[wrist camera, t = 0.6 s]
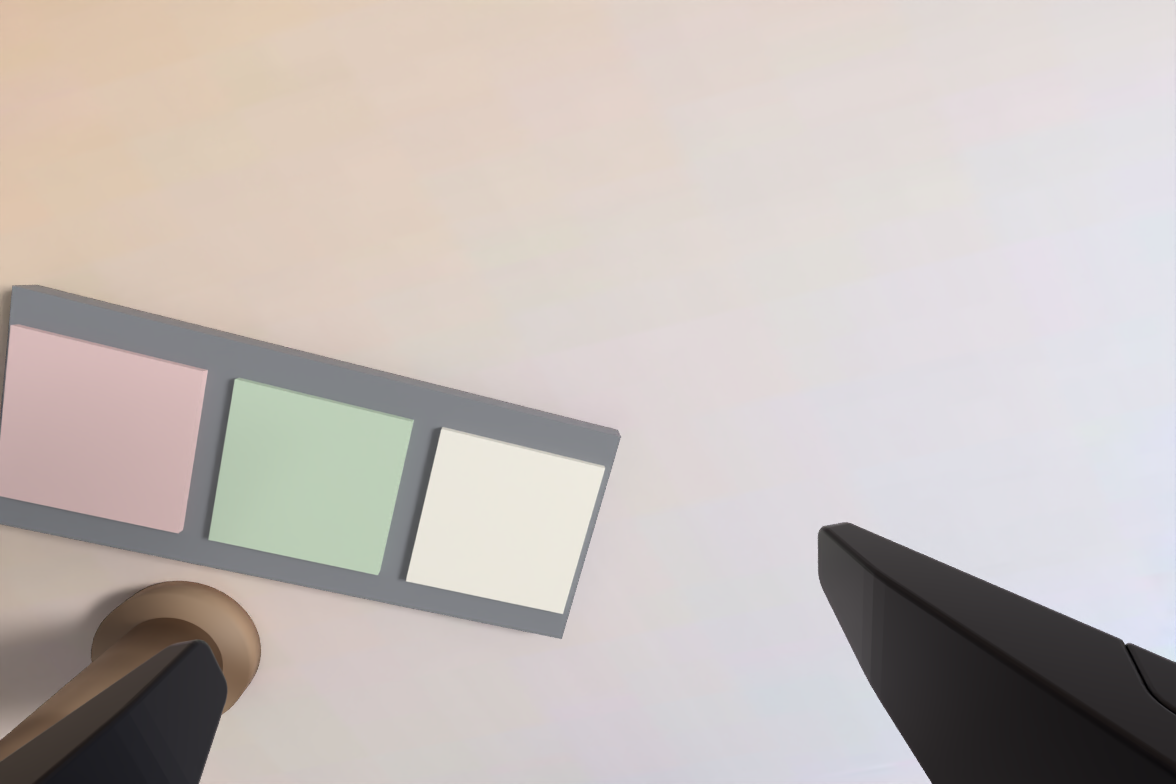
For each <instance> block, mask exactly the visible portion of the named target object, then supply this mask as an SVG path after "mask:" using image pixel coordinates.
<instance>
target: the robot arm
mask: <svg viewBox="0 0 1176 784" xmlns="http://www.w3.org/2000/svg"><path fill="white" fill-rule="evenodd" d="M818 575H819V580H820V583H821V586H822V589H823V591H824V593H825V595H826V597H827V599H828V601H829V603H830V605H831V607H832V609H833V611H834V613H835V615H836V617H837V619H838V621H839V623H840V625H841V627H842V629H843V631H844V633H845V635H846V637H847V639H848V642H849V644H850V646H851V648H852V650H853V652H854V654H855V656H856V658H857V660H858V662H859V664H860V666H861V668H862V670H863V672H864V674H865V675H866V677H867V679H868V681H869V683H870V685H871V687H872V688H873V690H874V692H875V693H876V695H877V697H878V698H879V700H880V702H881V703H882V705H883V706H884V708H885V710H886V711H887V713H888V714H889V716H890V717H891V719H892V721H893V722H894V724H895V725H896V727H897V729H898V730H899V732H900V733H901V735H902V736H903V738H904V740H905V741H906V743H907V744H908V746H909V748H910V749H911V751H912V752H913V754H914V756H915V757H916V759H917V760H918V762H919V763H920V765H921V767H922V768H923V770H924V771H925V773H926V775H927V776H928V778H929V779H930V781H931V782H932V784H1176V662H1174V661H1171V660H1169V659H1166V658H1164V657H1162V656H1159V655H1157V654H1155V653H1153V652H1150V651H1148V650H1146V649H1143V648H1141V647H1139V646H1136V645H1134V644H1131V643H1127V644H1126V645H1125V644H1124V642H1123V641H1122V640H1121V639H1119V638H1117V637H1115V636H1112V635H1110V634H1108V633H1105V632H1103V631H1101V630H1098V629H1096V628H1094V627H1091V626H1089V625H1087V624H1084V623H1082V622H1080V621H1077V620H1075V619H1073V618H1070V617H1068V616H1066V615H1063V614H1061V613H1059V612H1056V611H1054V610H1052V609H1049V608H1047V607H1045V606H1042V605H1040V604H1038V603H1035V602H1033V601H1031V600H1028V599H1026V598H1024V597H1021V596H1019V595H1017V594H1014V593H1012V592H1010V591H1007V590H1005V589H1003V588H1000V587H998V586H996V585H993V584H991V583H989V582H986V581H984V580H982V579H979V578H977V577H975V576H972V575H970V574H968V573H965V572H963V571H961V570H958V569H956V568H954V567H951V566H949V565H947V564H944V563H942V562H940V561H937V560H935V559H933V558H930V557H928V556H926V555H923V554H921V553H919V552H916V551H914V550H912V549H909V548H907V547H905V546H902V545H900V544H898V543H895V542H893V541H891V540H888V539H886V538H884V537H881V536H879V535H877V534H874V533H872V532H870V531H867V530H865V529H863V528H860V527H858V526H856V525H853V524H851V523H847V522H844V523H838V524H832V525H827V526H823V527H822V528H821V529H820V530H819V533H818ZM227 693H228V688H227V681H226V679H225V677H224V675H223V673H222V670H221V668H220V666H219V664H218V662H217V660H216V658H215V656H214V654H213V652H212V650H211V648H210V646H209V645H208V643H206V642H205V641H204V640H199V639H196V640H191V641H185V642H180V643H175V644H172V645H169V646H168V647H166V648H164V649H163V650H162V651H160V652H159V653H157V654H156V655H154V656H153V657H151V658H150V659H148V660H147V661H146V662H144V663H143V664H141V665H140V666H138V667H137V668H135V669H134V670H132V671H131V672H130V673H128V674H127V675H125V676H124V677H122V678H121V679H119V680H118V681H116V682H115V683H114V684H112V685H111V686H109V687H108V688H106V689H105V690H103V691H102V692H100V693H99V694H98V695H96V696H95V697H93V698H92V699H90V700H89V701H87V702H86V703H84V704H83V705H82V706H80V707H79V708H77V709H76V710H74V711H73V712H71V713H70V714H68V715H67V716H66V717H64V718H63V719H61V720H60V721H58V722H57V723H55V724H54V725H52V726H51V727H50V728H48V729H47V730H45V731H44V732H42V733H41V734H39V735H38V736H36V737H35V738H34V739H32V740H31V741H29V742H28V743H26V744H25V745H23V746H22V747H20V748H19V749H18V750H16V751H15V752H13V753H12V754H10V755H9V756H7V757H6V758H4V759H3V760H2V761H0V784H199V782H200V779H201V776H202V773H203V770H204V767H205V763H206V760H207V757H208V754H209V751H210V748H211V745H212V742H213V739H214V736H215V733H216V730H217V727H218V724H219V721H220V718H221V715H222V712H223V709H224V706H225V703H226V699H227Z"/></svg>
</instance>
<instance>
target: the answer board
mask: <svg viewBox="0 0 1176 784" xmlns="http://www.w3.org/2000/svg"><path fill="white" fill-rule="evenodd" d="M620 438H621V436H620V434H619V432H618V430H616V429H612V428H608V427H604V426H600V425H596V424H592V423H588V422H584V421H580V420H576V419H572V418H568V417H564V416H560V415H556V414H552V413H548V412H544V411H540V410H536V409H532V408H528V407H524V406H520V405H516V404H512V403H508V402H504V401H500V400H496V399H492V398H488V397H484V396H480V395H476V394H472V393H468V392H464V391H460V390H456V389H452V388H448V387H444V386H440V385H436V384H432V383H428V382H424V381H420V380H416V379H412V378H408V377H404V376H400V375H396V374H392V373H388V372H384V371H380V370H376V369H372V368H368V367H364V366H360V365H356V364H352V363H348V362H344V361H340V360H336V359H332V358H328V357H324V356H320V355H316V354H312V353H308V352H304V351H300V350H296V349H292V348H288V347H284V346H280V345H276V344H272V343H268V342H264V341H260V340H256V339H252V338H248V337H244V336H240V335H236V334H232V333H227V332H223V331H219V330H215V329H211V328H207V327H203V326H199V325H195V324H191V323H187V322H183V321H179V320H175V319H171V318H167V317H163V316H159V315H155V314H151V313H147V312H143V311H139V310H135V309H131V308H127V307H123V306H119V305H115V304H111V303H107V302H103V301H99V300H95V299H91V298H87V297H83V296H79V295H75V294H71V293H67V292H63V291H59V290H55V289H51V288H47V287H43V286H39V285H15V286H12V297H11V308H10V319H9V330H8V340H7V351H6V362H5V373H4V384H3V395H2V406H1V417H0V524H2V525H7V526H12V527H17V528H21V529H26V530H31V531H36V532H41V533H46V534H51V535H56V536H61V537H65V538H70V539H75V540H80V541H85V542H90V543H95V544H100V545H105V546H110V547H114V548H119V549H124V550H129V551H134V552H139V553H144V554H149V555H154V556H158V557H163V558H168V559H173V560H178V561H183V562H188V563H193V564H198V565H202V566H207V567H212V568H217V569H222V570H227V571H232V572H237V573H242V574H247V575H251V576H256V577H261V578H266V579H271V580H276V581H281V582H286V583H291V584H295V585H300V586H305V587H310V588H315V589H320V590H325V591H330V592H335V593H339V594H344V595H349V596H354V597H359V598H364V599H369V600H374V601H379V602H384V603H388V604H393V605H398V606H403V607H408V608H413V609H418V610H423V611H428V612H432V613H437V614H442V615H447V616H452V617H457V618H462V619H467V620H472V621H476V622H481V623H486V624H491V625H496V626H501V627H506V628H511V629H516V630H521V631H525V632H530V633H535V634H540V635H545V636H550V637H555V638H560V639H562V636H563V633H564V629H565V626H566V622H567V619H568V616H569V612H570V609H571V605H572V602H573V598H574V595H575V592H576V588H577V585H578V581H579V578H580V574H581V571H582V568H583V564H584V561H585V557H586V554H587V551H588V547H589V544H590V540H591V537H592V533H593V530H594V527H595V523H596V520H597V516H598V513H599V510H600V506H601V503H602V499H603V496H604V492H605V489H606V486H607V482H608V479H609V475H610V472H611V469H612V465H613V462H614V458H615V455H616V451H617V448H618V445H619V441H620Z"/></svg>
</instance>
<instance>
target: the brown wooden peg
mask: <svg viewBox="0 0 1176 784" xmlns="http://www.w3.org/2000/svg"><path fill="white" fill-rule="evenodd" d="M196 639H199V640H204V641H205V642H206V643H208V645H209V646H210V648H211V650H212V652H213V654H214V656H215V658H216V660H217V662H218V664H219V666H220V668H221V670H222V673H223V675H224V677H225V679H226V681H227V688H228V693H227V699H226V703H225V706H224V709H223V712H222V714H223V713H225V712H226V711H227V710H228V709H230V708H231V707H232V706H233V705H234V704H235V702H236V701H237V700H238V699H239V697H240V696H241V695H242V693H243V692H244V691H245V689H246V688H247V686H248V685H249V684H250V682H251V681H252V679H253V678H254V676H255V674H256V672H257V669H258V666H259V662H260V656H261V645H260V639H259V635H258V632H257V629H256V627H255V625H254V623H253V621H252V619H251V618H250V616H249V615H248V614H247V612H246V611H245V610H244V609H243V608H242V607H241V606H240V605H239V604H238V603H237V602H236V601H235V600H233V599H232V598H231V597H229V596H228V595H226V594H225V593H223V592H221V591H219V590H217V589H215V588H212V587H209V586H207V585H203V584H199V583H194V582H187V581H172V582H164V583H159V584H155V585H152V586H149V587H147V588H145V589H143V590H141V591H139V592H137V593H136V594H134V595H133V596H132V597H130V598H129V599H128V600H126V601H125V602H124V603H122V604H121V605H120V606H119V607H117V608H116V609H115V610H113V611H112V612H111V613H110V614H109V615H108V616H107V617H106V618H105V619H104V620H103V622H102V623H101V624H100V626H99V628H98V629H97V631H96V634H95V636H94V639H93V643H92V648H91V661H92V663H91V664H90V665H89V666H88V667H86V668H85V669H84V670H83V671H82V672H81V673H79V674H78V675H77V676H76V677H75V678H73V679H72V680H71V681H70V682H69V683H68V684H66V685H65V686H64V687H63V688H62V689H60V690H59V691H58V692H57V693H56V694H55V695H53V696H52V697H51V698H50V699H49V700H47V701H46V702H45V703H44V704H43V705H42V706H40V707H39V708H38V709H37V710H36V711H34V712H33V713H32V714H31V715H30V716H29V717H27V718H26V719H25V720H24V721H23V722H21V723H20V724H19V725H18V726H17V727H16V728H14V729H13V730H12V731H11V732H10V733H9V734H7V735H6V736H5V737H4V738H3V739H1V740H0V761H2V760H3V759H4V758H6V757H7V756H9V755H10V754H12V753H13V752H15V751H16V750H18V749H19V748H20V747H22V746H23V745H25V744H26V743H28V742H29V741H31V740H32V739H34V738H35V737H36V736H38V735H39V734H41V733H42V732H44V731H45V730H47V729H48V728H50V727H51V726H52V725H54V724H55V723H57V722H58V721H60V720H61V719H63V718H64V717H66V716H67V715H68V714H70V713H71V712H73V711H74V710H76V709H77V708H79V707H80V706H82V705H83V704H84V703H86V702H87V701H89V700H90V699H92V698H93V697H95V696H96V695H98V694H99V693H100V692H102V691H103V690H105V689H106V688H108V687H109V686H111V685H112V684H114V683H115V682H116V681H118V680H119V679H121V678H122V677H124V676H125V675H127V674H128V673H130V672H131V671H132V670H134V669H135V668H137V667H138V666H140V665H141V664H143V663H144V662H146V661H147V660H148V659H150V658H151V657H153V656H154V655H156V654H157V653H159V652H160V651H162V650H163V649H164V648H166V647H168V646H169V645H172V644H175V643H180V642H185V641H191V640H196Z"/></svg>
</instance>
